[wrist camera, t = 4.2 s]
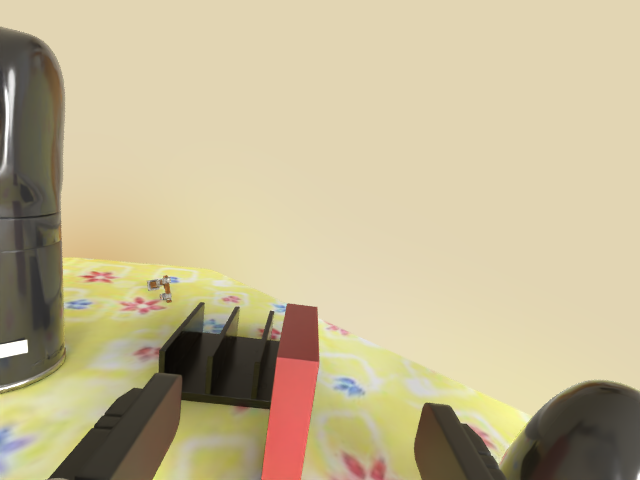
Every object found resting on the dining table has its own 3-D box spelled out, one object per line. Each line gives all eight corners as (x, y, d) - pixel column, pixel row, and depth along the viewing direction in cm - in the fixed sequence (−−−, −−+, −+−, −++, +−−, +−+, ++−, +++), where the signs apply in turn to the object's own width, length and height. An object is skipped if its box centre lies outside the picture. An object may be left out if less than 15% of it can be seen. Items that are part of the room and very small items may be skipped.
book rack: (154, 397, 33) (156, 349, 32) (195, 337, 45) (198, 301, 44) (303, 413, 34) (310, 367, 33) (305, 350, 46) (310, 315, 44)
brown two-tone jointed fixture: (165, 303, 51) (162, 275, 52) (149, 304, 57) (147, 279, 57) (177, 301, 53) (174, 274, 53) (160, 302, 58) (157, 278, 59)
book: (253, 537, 22) (276, 357, 19) (269, 440, 30) (287, 302, 27) (290, 540, 22) (319, 362, 19) (296, 443, 30) (317, 306, 27)
